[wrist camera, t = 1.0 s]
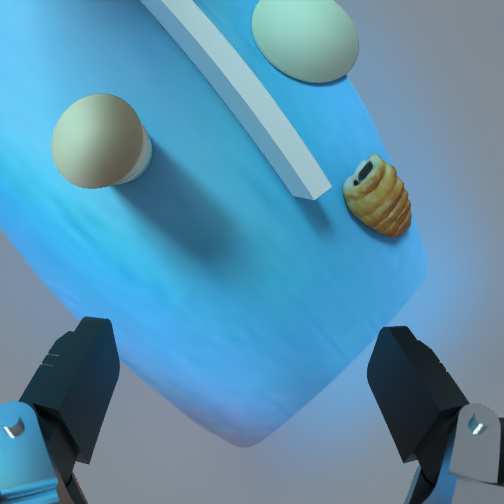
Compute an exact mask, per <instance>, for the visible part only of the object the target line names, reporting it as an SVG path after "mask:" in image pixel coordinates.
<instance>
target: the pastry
mask: <svg viewBox="0 0 504 504" xmlns="http://www.w3.org/2000/svg"><path fill="white" fill-rule="evenodd" d="M343 193H344V197H345V200H346V203H347V206H348V208H349V209H350V211H351V212H352V213H353V214H354V215H355V216H356V217H358V218H359V219H360V220H361V221H362V222H363V223H364V224H366V225H367V226H369V227H371V228H372V229H374V230H376V231H378V232H379V233H381V234H383V235H386V236H388V237H397V236H399V235H401V234H402V233H403V232H404V231H405V230H406V229H407V228H408V227H410V225H411V209H410V207H411V203H410V201H409V200H408V192H407V191H406V190H405V188H404V183H403V181H402V180H401V179H400V178H398V177H397V176H396V169H395V168H394V167H393V166H392V165H390V164H388V163H387V162H385V161H384V160H382V159H381V158H380V156H379V155H378V154H372V155H370V156H369V157H368V158H367V159H366V160H363V161H362V162H361V163H360V164H359V165H358V167H357V169H356V170H355V172H354V174H353V175H352V176H350V177H349V178H348V179H347V180H346V182H345V183H344V186H343Z"/></svg>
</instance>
